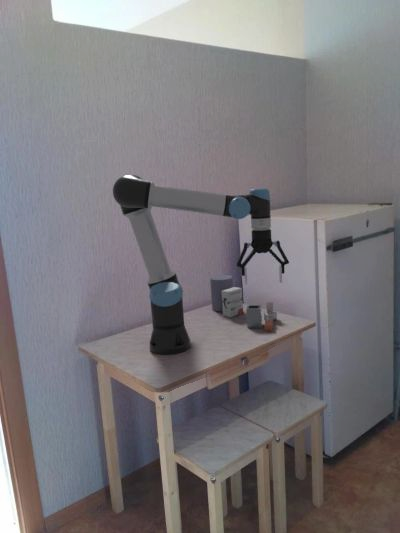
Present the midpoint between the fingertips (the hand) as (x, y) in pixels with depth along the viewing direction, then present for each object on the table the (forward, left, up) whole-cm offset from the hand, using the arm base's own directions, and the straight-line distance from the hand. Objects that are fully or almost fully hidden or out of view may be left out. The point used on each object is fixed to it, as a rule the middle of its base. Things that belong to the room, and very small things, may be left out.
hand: (263, 282), depth 186 cm
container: (-21, +29, -19) cm, 41 cm away
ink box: (-15, +19, -19) cm, 31 cm away
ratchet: (+2, +5, -19) cm, 19 cm away
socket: (-4, +3, -19) cm, 19 cm away
